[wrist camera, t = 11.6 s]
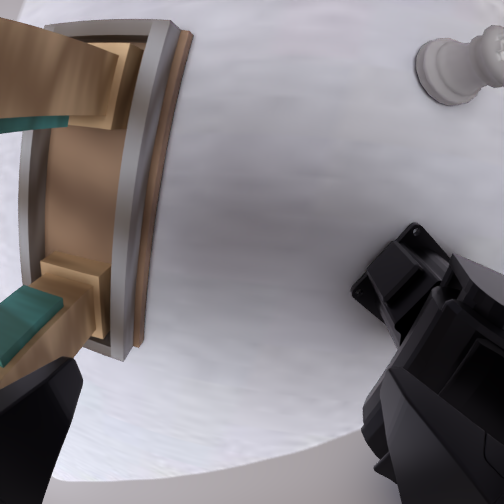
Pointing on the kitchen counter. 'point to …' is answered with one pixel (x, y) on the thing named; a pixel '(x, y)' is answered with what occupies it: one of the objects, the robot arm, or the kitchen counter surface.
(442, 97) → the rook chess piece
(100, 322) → the oak finger
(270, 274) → the kitchen counter surface
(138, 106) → the weathered wooden tray
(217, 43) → the kitchen counter surface
